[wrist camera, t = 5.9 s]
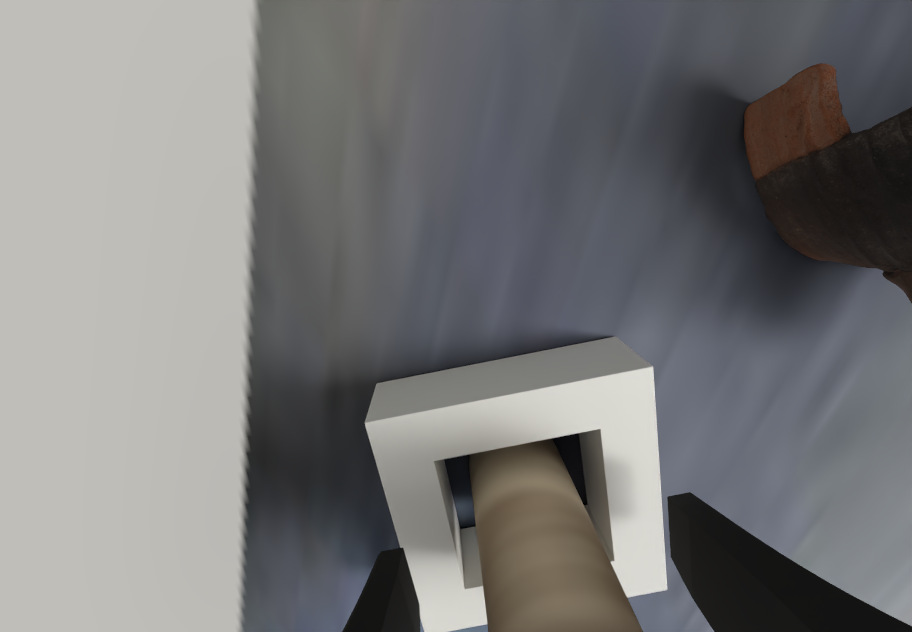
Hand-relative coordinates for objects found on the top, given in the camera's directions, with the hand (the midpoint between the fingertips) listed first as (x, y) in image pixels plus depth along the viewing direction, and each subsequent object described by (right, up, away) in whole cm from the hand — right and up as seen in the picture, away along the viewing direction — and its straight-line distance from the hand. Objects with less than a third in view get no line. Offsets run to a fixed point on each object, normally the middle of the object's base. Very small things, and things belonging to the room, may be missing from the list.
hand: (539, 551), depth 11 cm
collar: (0, +1, +4) cm, 4 cm away
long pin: (0, +1, +4) cm, 4 cm away
